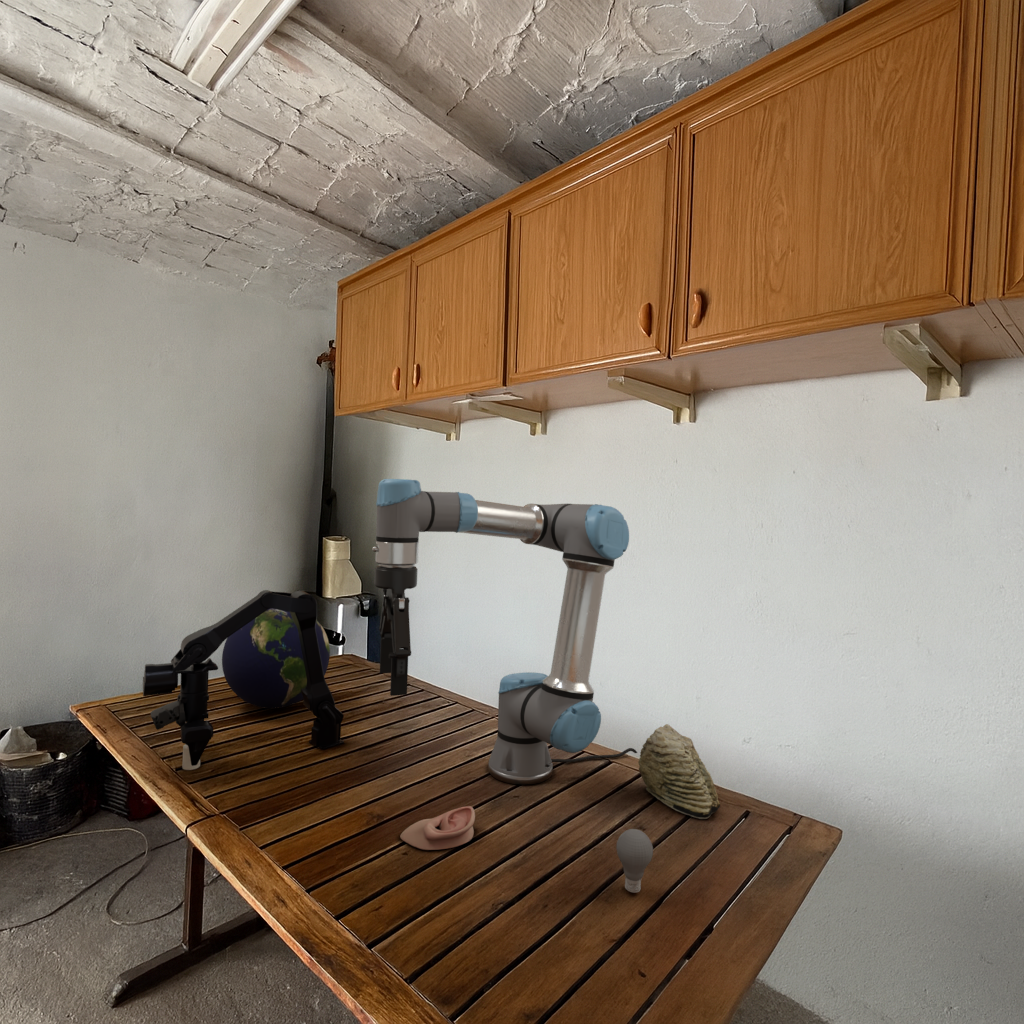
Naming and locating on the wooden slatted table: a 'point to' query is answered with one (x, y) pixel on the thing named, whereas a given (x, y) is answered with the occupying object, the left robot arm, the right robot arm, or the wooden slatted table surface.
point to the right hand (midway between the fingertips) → (392, 683)
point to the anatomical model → (442, 830)
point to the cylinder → (188, 759)
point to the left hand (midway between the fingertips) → (191, 757)
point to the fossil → (677, 774)
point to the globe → (269, 660)
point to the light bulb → (634, 857)
